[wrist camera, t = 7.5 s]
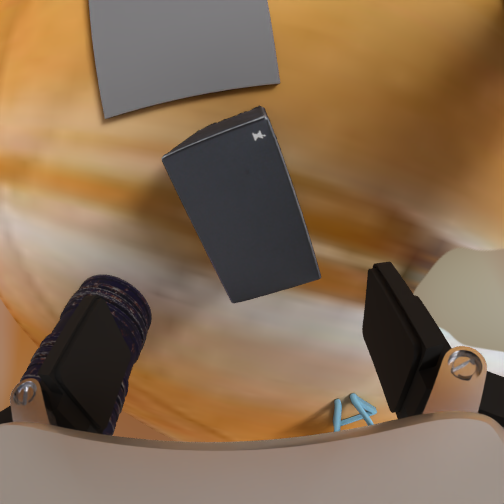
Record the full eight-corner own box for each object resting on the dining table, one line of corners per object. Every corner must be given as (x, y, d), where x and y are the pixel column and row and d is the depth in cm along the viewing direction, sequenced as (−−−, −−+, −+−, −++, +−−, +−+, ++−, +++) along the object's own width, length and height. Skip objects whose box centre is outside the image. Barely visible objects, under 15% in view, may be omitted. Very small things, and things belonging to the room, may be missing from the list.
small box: (190, 132, 24) (152, 156, 15) (263, 104, 23) (270, 109, 14) (236, 237, 29) (228, 309, 20) (303, 215, 28) (326, 279, 19)
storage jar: (70, 269, 31) (2, 362, 18) (147, 277, 31) (95, 391, 18) (88, 332, 36) (44, 423, 23) (157, 343, 36) (126, 448, 23)
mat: (249, -83, 14) (249, -87, 13) (279, 83, 22) (280, 83, 22) (90, -42, 15) (87, -44, 14) (108, 118, 23) (105, 118, 23)
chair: (367, 387, 41) (386, 454, 30) (376, 409, 44) (392, 468, 34) (320, 403, 43) (330, 471, 32) (334, 423, 46) (344, 483, 36)
